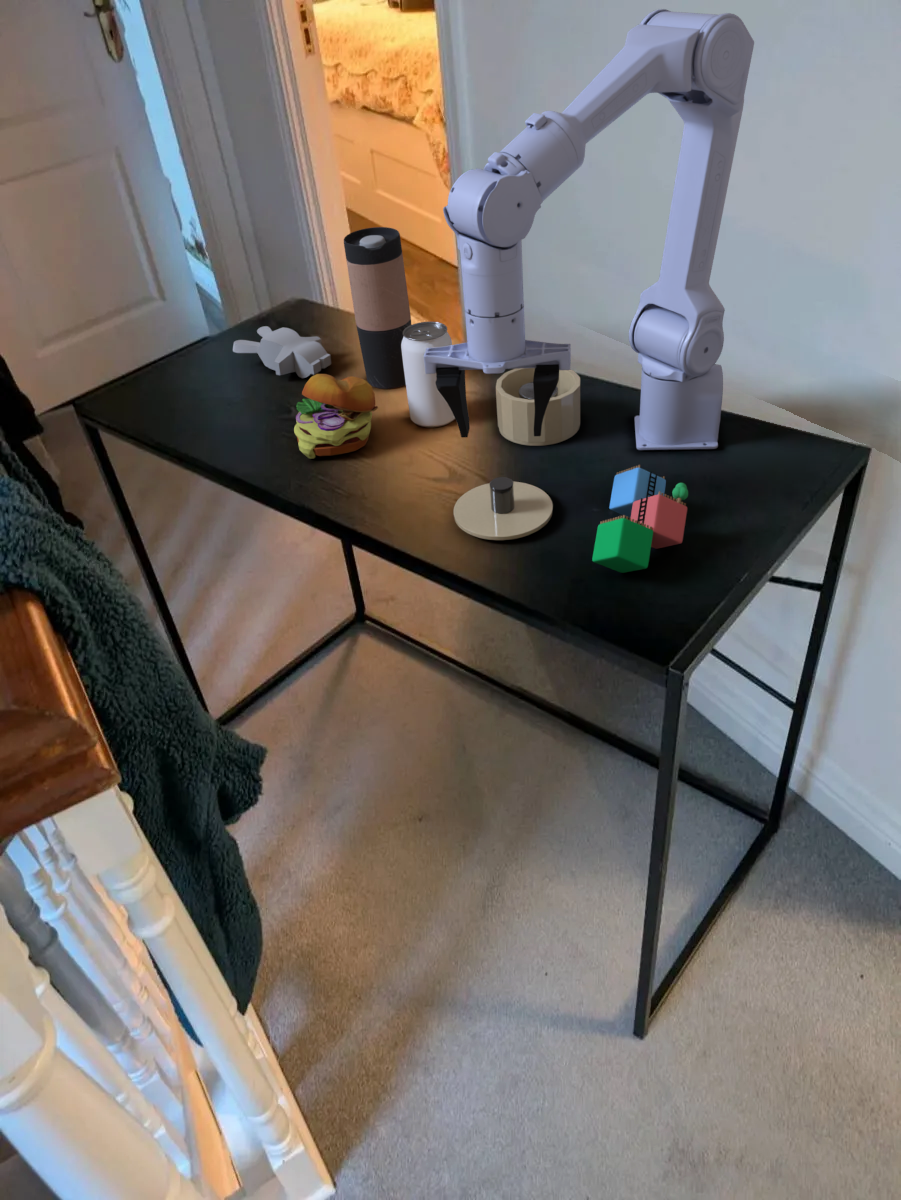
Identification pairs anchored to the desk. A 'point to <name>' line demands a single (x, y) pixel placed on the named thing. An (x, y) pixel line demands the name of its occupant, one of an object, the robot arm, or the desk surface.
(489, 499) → the pot lid
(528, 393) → the tin
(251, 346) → the bunny figurine
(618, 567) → the building blocks
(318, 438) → the cheeseburger
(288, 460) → the desk surface
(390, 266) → the travel mug
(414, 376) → the can
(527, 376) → the beige hollow cylinder
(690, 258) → the robot arm
